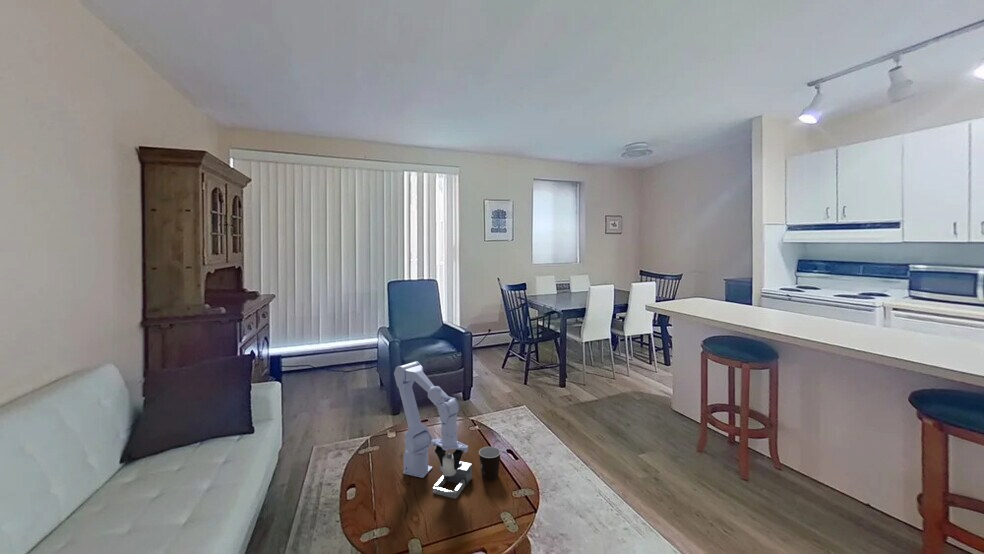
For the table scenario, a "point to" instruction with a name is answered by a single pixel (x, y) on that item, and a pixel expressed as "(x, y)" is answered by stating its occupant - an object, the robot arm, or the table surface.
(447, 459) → the white bottle
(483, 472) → the coffee mug
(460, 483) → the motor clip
